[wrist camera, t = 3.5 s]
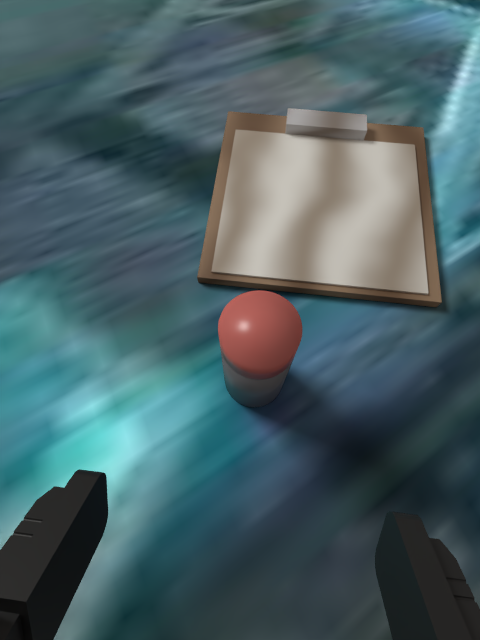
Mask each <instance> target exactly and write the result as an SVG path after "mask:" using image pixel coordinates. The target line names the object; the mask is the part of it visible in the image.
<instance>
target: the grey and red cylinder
mask: <svg viewBox="0 0 480 640" xmlns="http://www.w3.org/2000/svg"><path fill="white" fill-rule="evenodd" d="M218 332H219V340H220V348H221V355H222V363H223V370H224V378H225V384H226V388H227V390H228V392H229V394H230V395H231V397H232V398H233V399H234V400H235V401H237V402H238V403H240V404H242V405H244V406H247V407H261V406H264V405H267V404H269V403H270V402H272V401H273V400H274V399H275V398H276V397H277V396H278V394H279V393H280V390H281V388H282V386H283V383H284V381H285V378H286V376H287V373H288V371H289V368H290V366H291V363H292V361H293V359H294V356H295V354H296V351H297V349H298V346H299V344H300V341H301V337H302V323H301V319H300V316H299V314H298V312H297V310H296V309H295V307H294V306H293V305H292V304H291V303H290V302H289V301H288V300H287V299H285V298H284V297H282V296H280V295H278V294H276V293H273V292H269V291H261V290H257V291H250V292H246V293H243V294H241V295H239V296H237V297H235V298H234V299H233V300H231V301H230V302H229V303H228V304H227V305H226V307H225V308H224V310H223V312H222V313H221V316H220V319H219V325H218Z"/></svg>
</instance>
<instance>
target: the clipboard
mask: <svg viewBox="0 0 480 640" xmlns="http://www.w3.org/2000/svg"><path fill="white" fill-rule="evenodd" d="M197 278H198V282H199V283H209V284H219V285H228V286H238V287H247V288H257V289H267V290H276V291H286V292H296V293H305V294H315V295H324V296H334V297H344V298H353V299H363V300H373V301H382V302H392V303H401V304H411V305H421V306H430V307H437V306H438V305H439V304H441V303H442V300H441V290H440V281H439V272H438V262H437V253H436V243H435V234H434V224H433V215H432V206H431V196H430V187H429V177H428V168H427V158H426V149H425V140H424V130H423V128H421V127H409V126H397V125H385V124H373V123H367V115H363V114H351V113H339V112H326V111H314V110H302V109H290V108H288V113H287V116H276V115H264V114H252V113H240V112H228V116H227V121H226V127H225V132H224V137H223V143H222V148H221V153H220V159H219V164H218V170H217V175H216V180H215V186H214V191H213V196H212V202H211V207H210V212H209V218H208V223H207V228H206V234H205V239H204V244H203V250H202V255H201V260H200V266H199V271H198V276H197Z"/></svg>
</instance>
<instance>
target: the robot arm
mask: <svg viewBox="0 0 480 640" xmlns="http://www.w3.org/2000/svg"><path fill="white" fill-rule="evenodd" d="M107 518H108V501H107V481H106V474H105V473H102V472H94V471H87V470H77V471H76V472H75V473H74V474H73V476H72V477H71V479H70V480H69V482H68V483H67V485H66V486H65V488H62V487H53V488H52V489H51V490H49V491H48V492H47V493H45V494H44V495H43V496H42V497H40V498H39V499H38V500H37V501H36V502H35V503H34V505H33V506H32V507H31V509H30V510H29V512H28V513H27V514H26V516H25V517H24V520H23V521H21V523H20V524H19V525H18V527H17V528H16V529H15V531H14V534H13V535H11V536H10V538H9V539H8V540H7V542H6V543H5V545H4V546H3V547H2V549H1V550H0V640H53V639H54V637H55V635H56V633H57V630H58V628H59V626H60V624H61V622H62V620H63V618H64V616H65V614H66V612H67V609H68V607H69V605H70V603H71V601H72V599H73V597H74V595H75V593H76V590H77V588H78V586H79V584H80V582H81V580H82V578H83V576H84V574H85V572H86V569H87V567H88V565H89V563H90V561H91V559H92V557H93V555H94V553H95V551H96V548H97V546H98V544H99V542H100V540H101V538H102V536H103V533H104V530H105V527H106V523H107ZM375 568H376V575H377V579H378V583H379V587H380V591H381V595H382V599H383V603H384V607H385V611H386V615H387V619H388V622H389V626H390V630H391V634H392V638H393V640H480V609H479V607H478V605H477V603H475V601H474V596H473V594H472V592H471V590H470V588H469V586H468V584H466V579H465V577H464V575H463V573H462V571H461V568H460V566H459V564H458V562H457V560H456V558H455V557H454V556H453V555H452V554H451V552H450V551H449V550H448V549H447V548H446V547H445V545H444V544H443V543H442V542H441V541H440V540H439V539H433V538H429V537H428V534H427V532H426V530H425V527H424V525H423V523H422V520H421V519H420V517H419V516H418V515H413V514H405V513H398V512H390V511H389V512H388V513H387V515H386V518H385V521H384V524H383V528H382V531H381V535H380V538H379V541H378V545H377V548H376V553H375Z"/></svg>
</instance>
